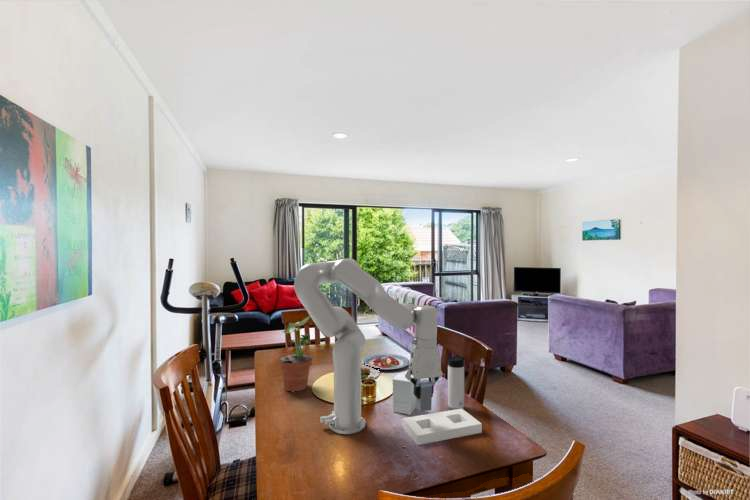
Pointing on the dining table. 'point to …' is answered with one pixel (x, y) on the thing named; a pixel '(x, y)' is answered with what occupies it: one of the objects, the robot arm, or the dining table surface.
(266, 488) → the dining table surface
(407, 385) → the supplement box
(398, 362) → the ceramic plate
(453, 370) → the travel mug
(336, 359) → the robot arm
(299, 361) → the potted plant
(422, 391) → the plug
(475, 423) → the socket panel
